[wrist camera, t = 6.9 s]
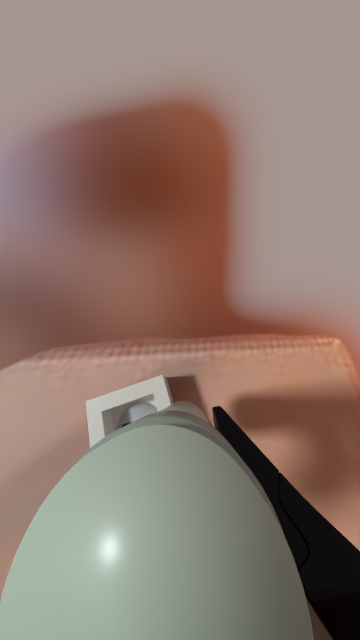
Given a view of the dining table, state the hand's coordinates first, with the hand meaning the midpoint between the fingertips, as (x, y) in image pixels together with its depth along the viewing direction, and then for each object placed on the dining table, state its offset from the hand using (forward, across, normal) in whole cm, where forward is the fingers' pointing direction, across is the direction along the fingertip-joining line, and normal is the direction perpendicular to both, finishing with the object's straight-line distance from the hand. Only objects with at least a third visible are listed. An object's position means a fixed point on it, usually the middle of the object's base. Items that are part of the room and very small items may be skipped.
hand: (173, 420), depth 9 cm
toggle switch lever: (+4, 0, +6) cm, 7 cm away
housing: (+8, +5, +10) cm, 14 cm away
